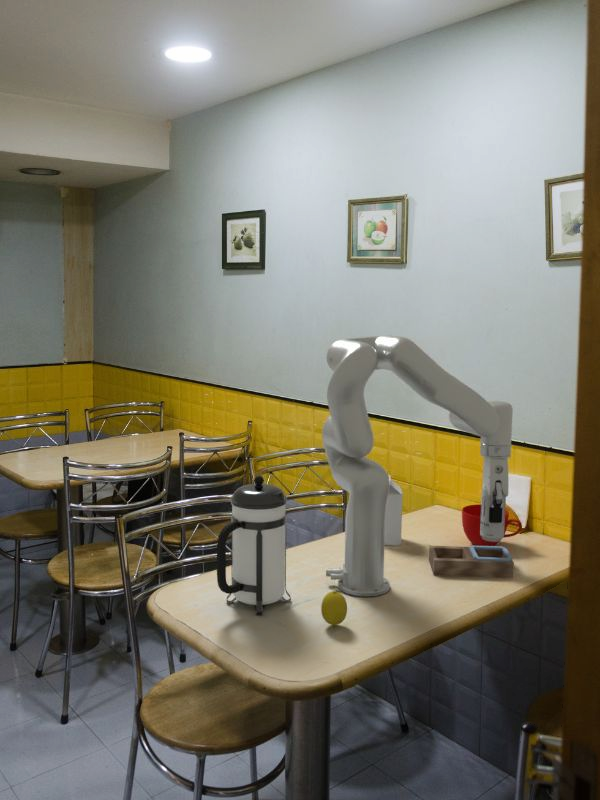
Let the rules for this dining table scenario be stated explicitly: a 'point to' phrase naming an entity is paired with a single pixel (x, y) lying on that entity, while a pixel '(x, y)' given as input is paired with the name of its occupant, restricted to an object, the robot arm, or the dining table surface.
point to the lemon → (334, 608)
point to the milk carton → (393, 515)
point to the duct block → (471, 561)
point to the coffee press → (255, 545)
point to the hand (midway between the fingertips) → (492, 517)
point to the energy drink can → (488, 529)
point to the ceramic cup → (472, 525)
